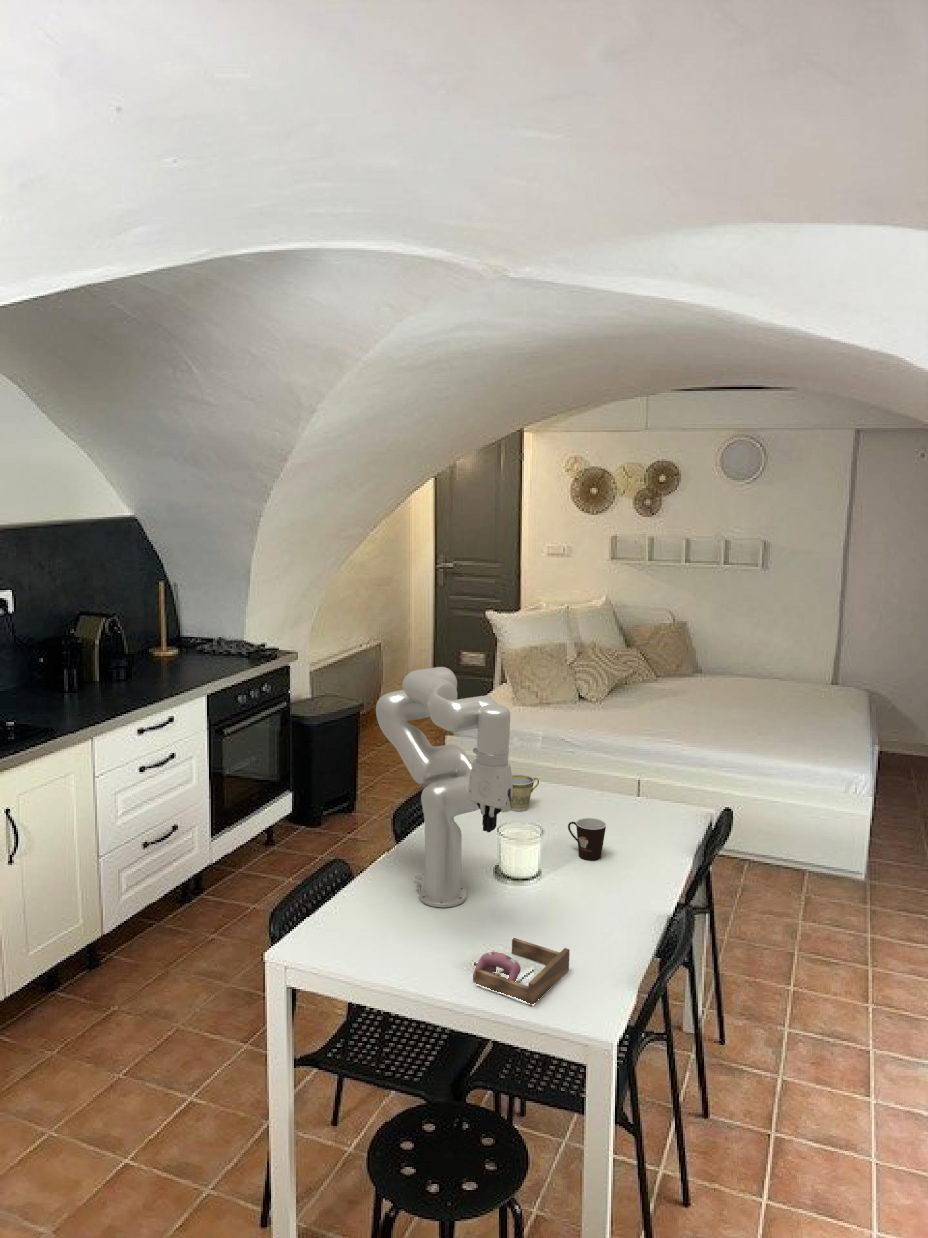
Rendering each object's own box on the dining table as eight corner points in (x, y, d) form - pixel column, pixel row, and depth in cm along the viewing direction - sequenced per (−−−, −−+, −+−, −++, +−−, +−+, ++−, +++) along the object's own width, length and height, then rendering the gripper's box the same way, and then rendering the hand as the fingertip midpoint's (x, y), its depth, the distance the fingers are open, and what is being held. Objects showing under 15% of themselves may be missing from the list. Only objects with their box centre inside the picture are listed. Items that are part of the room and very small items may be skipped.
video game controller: (518, 993, 199) (525, 960, 201) (509, 993, 195) (517, 959, 197) (478, 980, 204) (486, 947, 206) (469, 980, 200) (477, 947, 202)
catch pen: (475, 985, 199) (475, 964, 198) (513, 951, 213) (514, 931, 212) (532, 1006, 191) (533, 984, 190) (568, 970, 205) (569, 949, 205)
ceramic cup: (513, 815, 296) (513, 786, 295) (497, 805, 305) (498, 777, 303) (546, 809, 302) (547, 780, 301) (530, 799, 311) (530, 771, 309)
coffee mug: (610, 860, 264) (611, 827, 262) (584, 864, 260) (585, 831, 259) (590, 844, 274) (591, 813, 273) (564, 848, 271) (565, 816, 269)
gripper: (457, 754, 216) (454, 826, 220) (511, 769, 208) (507, 844, 212) (475, 746, 223) (472, 816, 226) (527, 760, 214) (524, 833, 218)
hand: (489, 829), depth 219 cm, fingers closed
